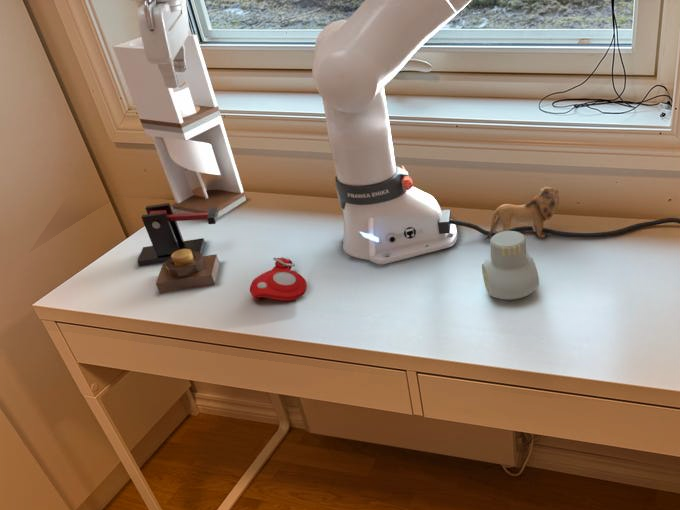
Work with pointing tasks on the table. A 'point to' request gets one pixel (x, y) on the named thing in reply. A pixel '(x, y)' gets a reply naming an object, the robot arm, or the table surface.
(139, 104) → the display case
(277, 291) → the tracker holder
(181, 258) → the bell button
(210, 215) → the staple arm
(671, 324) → the table surface
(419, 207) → the robot arm
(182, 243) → the black lever base
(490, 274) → the air freshener
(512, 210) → the lion figurine
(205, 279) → the block
